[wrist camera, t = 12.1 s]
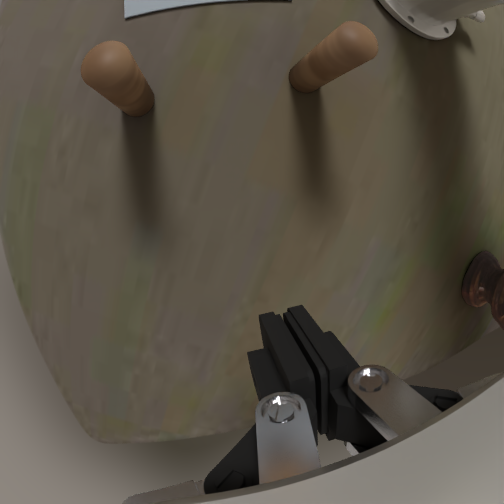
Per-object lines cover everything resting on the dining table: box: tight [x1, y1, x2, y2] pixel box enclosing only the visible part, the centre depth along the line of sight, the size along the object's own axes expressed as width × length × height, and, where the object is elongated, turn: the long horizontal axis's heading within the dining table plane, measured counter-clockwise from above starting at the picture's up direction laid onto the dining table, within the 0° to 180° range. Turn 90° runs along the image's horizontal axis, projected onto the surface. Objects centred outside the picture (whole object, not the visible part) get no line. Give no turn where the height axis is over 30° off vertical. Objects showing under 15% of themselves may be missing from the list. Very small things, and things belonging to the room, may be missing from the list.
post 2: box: [289, 21, 378, 93], centre depth 17 cm, size 3×3×9 cm
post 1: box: [81, 41, 154, 117], centre depth 15 cm, size 3×3×9 cm
